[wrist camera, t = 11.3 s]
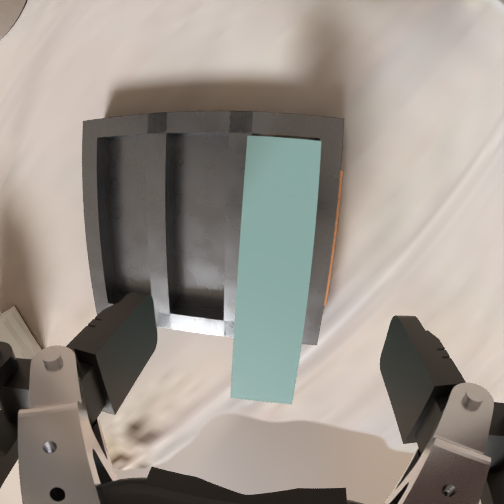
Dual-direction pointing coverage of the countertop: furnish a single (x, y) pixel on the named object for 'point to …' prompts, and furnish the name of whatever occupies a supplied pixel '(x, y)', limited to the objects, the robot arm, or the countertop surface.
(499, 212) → the countertop surface
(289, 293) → the panel
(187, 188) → the rack
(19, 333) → the skincare box
